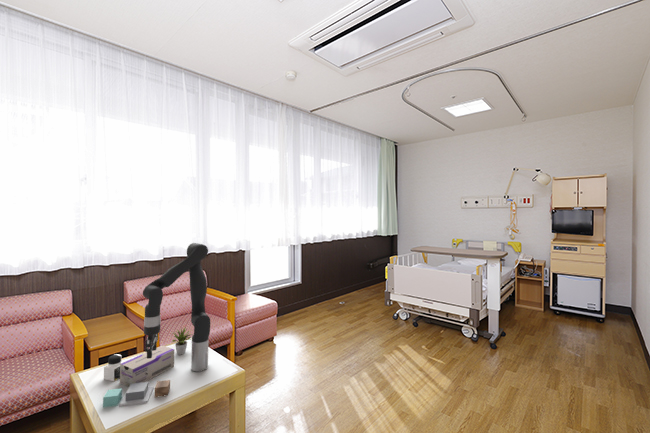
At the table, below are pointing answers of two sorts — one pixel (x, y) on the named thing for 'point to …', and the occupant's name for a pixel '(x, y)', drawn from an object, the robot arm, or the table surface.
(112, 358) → the medicine bottle
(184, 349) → the house plant
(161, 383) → the walnut block
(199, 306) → the robot arm
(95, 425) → the table surface
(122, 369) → the surgical sutures box
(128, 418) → the table surface
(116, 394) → the teal block
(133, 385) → the plate
